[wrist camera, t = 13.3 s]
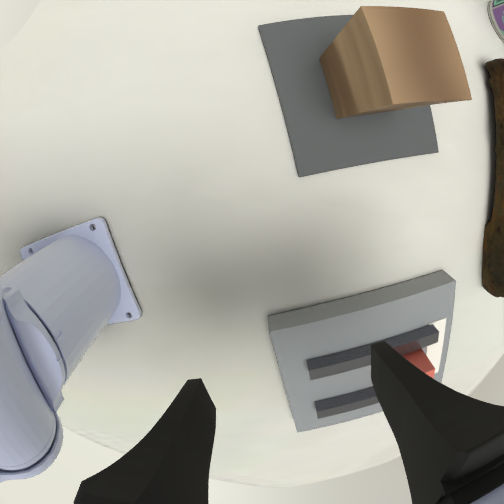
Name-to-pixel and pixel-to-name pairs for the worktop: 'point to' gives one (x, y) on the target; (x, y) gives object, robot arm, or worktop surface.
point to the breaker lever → (421, 361)
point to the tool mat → (321, 107)
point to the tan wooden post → (393, 62)
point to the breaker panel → (357, 345)
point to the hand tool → (496, 192)
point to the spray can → (497, 16)
